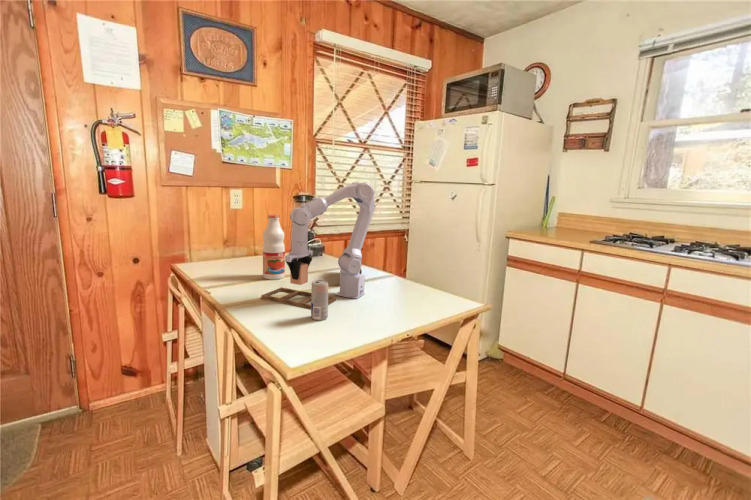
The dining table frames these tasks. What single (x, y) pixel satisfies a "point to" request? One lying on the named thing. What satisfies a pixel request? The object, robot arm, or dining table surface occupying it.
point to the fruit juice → (273, 250)
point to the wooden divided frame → (293, 297)
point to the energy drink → (319, 300)
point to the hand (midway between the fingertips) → (299, 277)
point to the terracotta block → (301, 275)
